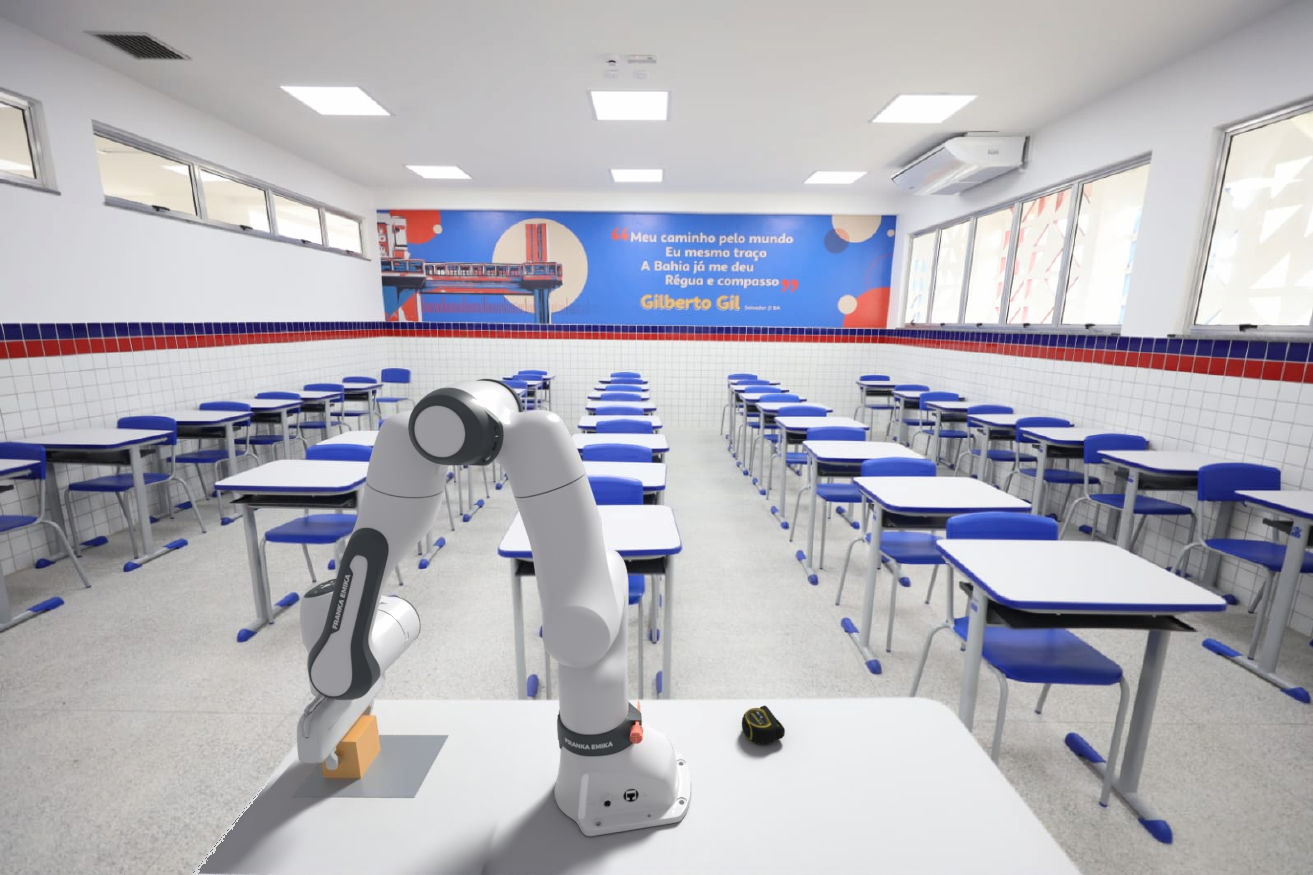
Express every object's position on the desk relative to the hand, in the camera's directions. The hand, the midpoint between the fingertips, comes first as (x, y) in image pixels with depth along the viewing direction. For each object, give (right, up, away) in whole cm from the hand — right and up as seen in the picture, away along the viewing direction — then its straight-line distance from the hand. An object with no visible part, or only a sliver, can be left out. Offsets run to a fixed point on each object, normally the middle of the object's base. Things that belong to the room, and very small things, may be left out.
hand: (350, 745), depth 97 cm
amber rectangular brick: (0, -4, +1) cm, 4 cm away
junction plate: (+4, -5, +1) cm, 6 cm away
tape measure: (+72, -2, +8) cm, 73 cm away
